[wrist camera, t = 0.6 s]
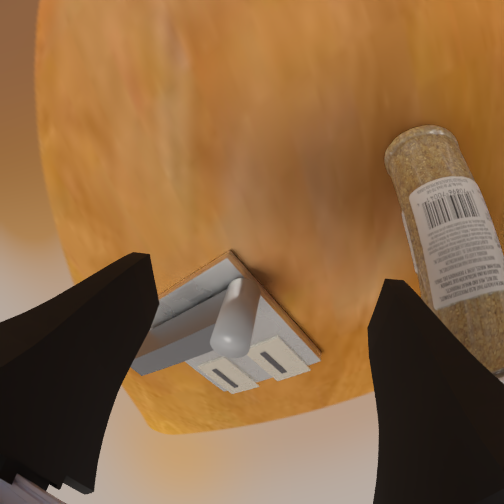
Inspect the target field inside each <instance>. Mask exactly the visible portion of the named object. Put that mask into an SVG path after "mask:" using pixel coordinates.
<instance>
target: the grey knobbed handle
mask: <svg viewBox="0 0 504 504" xmlns="http://www.w3.org/2000/svg"><path fill="white" fill-rule="evenodd" d="M260 295H261V291H260V288H259V286H258V285H257V284H256V283H255V282H254V281H252V280H250V279H246V278H238V279H235V280H233V281H232V282H231V283H230V284H229V286H228V289H227V290H225V291H223V292H221V293H219V294H217V295H215V296H214V297H212V298H210V299H208V300H206V301H204V302H202V303H201V304H199V305H197V306H195V307H193V308H191V309H189V310H187V311H186V312H184V313H182V314H180V315H178V316H176V317H174V318H172V319H171V320H169V321H167V322H165V323H163V324H161V325H159V326H157V327H155V328H153V329H152V330H150V331H149V332H148V334H147V336H146V338H145V340H144V342H143V344H142V346H141V348H140V349H139V351H138V353H137V355H136V357H135V359H134V361H133V363H132V365H131V366H130V367H131V368H132V369H134V370H135V371H136V372H138V373H139V374H140V375H141V376H143V375H146V374H149V373H152V372H155V371H158V370H161V369H164V368H167V367H170V366H172V365H175V364H178V363H181V362H184V361H186V360H189V359H192V358H195V357H197V356H200V355H203V354H205V353H208V352H211V351H213V350H214V351H215V352H217V353H218V354H220V355H222V356H224V357H228V358H241V357H243V356H245V355H247V354H248V352H249V349H250V344H251V339H252V335H253V330H254V325H255V320H256V315H257V310H258V305H259V300H260Z"/></svg>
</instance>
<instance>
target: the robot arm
mask: <svg viewBox="0 0 504 504" xmlns="http://www.w3.org/2000/svg"><path fill="white" fill-rule="evenodd" d="M159 304H160V303H159V299H158V294H157V289H156V285H155V280H154V275H153V270H152V264H151V259H150V254H144V253H136V252H133V253H131V254H128V255H126V256H124V257H122V258H121V259H119V260H117V261H115V262H113V263H112V264H110V265H108V266H107V267H105V268H103V269H102V270H100V271H98V272H97V273H95V274H93V275H92V276H90V277H88V278H87V279H85V280H83V281H82V282H80V283H78V284H76V285H75V286H73V287H71V288H70V289H68V290H66V291H64V292H63V293H61V294H59V295H57V296H56V297H54V298H52V299H50V300H48V301H47V302H45V303H43V304H41V305H39V306H37V307H35V308H33V309H31V310H28V311H27V312H25V313H22V314H20V315H17V316H15V317H13V318H10V319H8V320H5V321H3V322H0V504H66V503H64V502H62V501H61V500H59V499H57V498H55V497H54V496H53V495H51V494H49V493H48V492H46V490H47V488H48V486H49V484H50V485H52V486H53V487H55V488H57V489H58V490H59V489H61V486H62V483H64V484H66V485H68V486H70V487H72V488H73V489H75V490H77V491H79V492H81V493H83V494H89V493H92V492H94V485H95V477H96V471H97V464H98V459H99V454H100V450H101V445H102V441H103V437H104V433H105V430H106V426H107V423H108V419H109V416H110V413H111V410H112V407H113V404H114V402H115V399H116V396H117V393H118V391H119V389H120V386H121V384H122V382H123V380H124V378H125V376H126V374H127V372H128V370H129V368H130V366H131V365H132V363H133V361H134V359H135V357H136V355H137V353H138V351H139V349H140V348H141V346H142V344H143V342H144V340H145V338H146V336H147V334H148V332H149V330H150V328H151V325H152V323H153V320H154V318H155V315H156V312H157V309H158V307H159ZM368 346H369V359H370V365H371V372H372V378H373V385H374V391H375V398H376V405H377V413H378V423H379V452H378V468H377V480H376V487H375V494H374V501H373V504H504V384H503V383H502V382H501V381H500V380H499V379H498V378H497V377H495V376H494V375H493V374H492V373H491V372H490V371H489V370H488V369H487V368H486V367H485V366H484V365H483V364H482V363H481V362H479V361H478V360H477V359H476V358H475V357H474V356H473V355H472V354H471V353H470V352H469V351H468V349H467V348H466V347H465V346H464V345H463V344H462V343H461V342H460V341H459V340H458V339H457V338H456V337H455V336H454V335H453V334H452V332H451V331H450V330H449V329H448V328H447V327H446V326H445V325H444V324H443V322H442V321H441V320H440V319H439V318H438V317H437V316H436V315H435V314H434V312H433V311H432V310H431V309H430V308H429V307H428V306H427V305H426V303H425V302H424V301H423V300H422V299H421V298H420V297H419V296H418V295H417V294H416V292H415V291H414V290H413V289H412V288H411V287H410V286H409V285H408V284H407V283H406V282H405V281H403V280H394V279H385V281H384V284H383V287H382V290H381V293H380V296H379V298H378V301H377V304H376V307H375V310H374V312H373V315H372V318H371V320H370V323H369V325H368Z"/></svg>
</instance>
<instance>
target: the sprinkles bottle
mask: <svg viewBox="0 0 504 504" xmlns="http://www.w3.org/2000/svg"><path fill="white" fill-rule="evenodd" d="M384 162H385V167H386V170H387V173H388V174H389V175H390V177H391V178H392V182H393V185H394V188H395V191H396V195H397V197H398V201H399V204H400V207H401V211H402V219H403V223H404V227H405V231H406V235H407V239H408V243H409V247H410V251H411V255H412V259H413V264H414V268H415V272H416V273H417V275H418V279H419V286H420V291H421V298H422V300H423V301H424V302H425V303H426V305H427V306H428V307H429V308H430V309H431V310H432V311H433V312H434V314H435V315H436V316H437V317H438V318H439V319H440V320H441V321H442V322H443V324H444V325H445V326H446V327H447V328H448V329H449V330H450V331H451V332H452V334H453V335H454V336H455V337H456V338H457V339H458V340H459V341H460V342H461V343H462V344H463V345H464V346H465V347H466V348H467V349H468V351H469V352H470V353H471V354H472V355H473V356H474V357H475V358H476V359H477V360H478V361H479V362H481V363H482V364H483V365H484V366H485V367H486V368H487V369H488V370H489V371H490V372H491V373H492V374H493V375H494V376H495V377H497V378H498V379H499V380H500V381H501V382H502V383H503V384H504V256H503V253H502V249H501V246H500V243H499V240H498V237H497V234H496V231H495V228H494V225H493V222H492V219H491V217H490V214H489V211H488V209H487V206H486V203H485V201H484V198H483V196H482V194H481V191H480V189H479V187H478V185H477V184H476V182H475V180H474V178H473V176H472V174H471V172H470V170H469V168H468V166H467V163H466V161H465V159H464V157H463V155H462V154H461V152H460V150H459V145H458V142H457V140H456V138H455V136H454V135H453V134H452V133H451V132H450V131H448V130H447V129H445V128H443V127H440V126H436V125H423V126H419V127H415V128H412V129H410V130H408V131H406V132H404V133H402V134H400V135H399V136H398V137H396V138H395V139H394V140H393V142H392V143H391V144H390V145H389V147H388V148H387V150H386V152H385V158H384Z"/></svg>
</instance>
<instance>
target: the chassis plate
mask: <svg viewBox="0 0 504 504" xmlns="http://www.w3.org/2000/svg"><path fill="white" fill-rule="evenodd" d="M238 278H246V279H250V280H252V281H254V282H255V283H256V284H257V285H258V286H259V288H260V291H261V295H260V300H259V305H258V310H257V315H256V320H255V325H254V330H253V335H252V339H251V344H250V349H249V352H248V354H247V355H245V356H243V357H241V358H228V357H224V356H222V355H220V354H218V353H217V352H215V351H214V350H213V351H211V352H208V353H205V354H203V355H200V356H197V357H195V358H192V359H189V360H186V361H185V362H186V363H188V364H189V365H190V366H191V367H193V368H194V369H195V370H196V371H198V372H199V373H200V374H201V375H203V376H204V377H205V378H207V379H208V380H209V381H211V382H212V383H213V384H215V385H216V386H217V387H219V388H220V389H221V390H223V391H229V392H230V393H232V394H234V393H238V392H241V391H245V390H249V389H252V388H256V387H260V384H259V383H257V382H259V381H263V380H266V379H269V378H272V377H273V378H274V379H275V380H277V381H280V380H283V379H286V378H289V377H292V376H295V375H298V374H301V373H304V372H307V371H310V370H311V368H310V367H309V366H308V365H311V364H314V363H316V362H319V361H321V351H320V350H319V349H318V348H317V347H316V346H315V344H314V343H313V342H312V341H311V340H310V339H309V338H308V337H307V336H306V335H305V333H304V332H303V331H302V330H301V329H300V328H299V327H298V326H297V325H296V323H295V322H294V321H293V320H292V319H291V318H290V317H289V316H288V315H287V313H286V312H285V311H284V310H283V309H282V308H281V307H280V306H279V304H278V303H277V302H276V301H275V300H274V299H273V298H272V297H271V296H270V294H269V293H268V292H267V291H266V290H265V289H264V288H263V287H262V285H261V284H260V283H259V282H258V281H257V280H256V279H255V277H254V276H253V275H252V274H251V273H250V272H249V271H248V270H247V268H246V267H245V266H244V265H243V264H242V263H241V262H240V260H239V259H238V258H237V257H236V256H235V255H234V254H233V253H232V251H231V250H229V251H228V252H226V253H224V254H223V255H221V256H220V257H218V258H216V259H215V260H213V261H212V262H210V263H208V264H207V265H205V266H204V267H202V268H201V269H199V270H197V271H196V272H194V273H193V274H191V275H189V276H188V277H186V278H185V279H183V280H182V281H180V282H178V283H177V284H175V285H174V286H172V287H171V288H169V289H167V290H166V291H164V292H163V293H161V294H160V295H158V299H159V303H160V304H159V307H158V309H157V312H156V315H155V318H154V320H153V323H152V325H151V328H150V330H152V329H153V328H155V327H157V326H159V325H161V324H163V323H165V322H167V321H169V320H171V319H172V318H174V317H176V316H178V315H180V314H182V313H184V312H186V311H187V310H189V309H191V308H193V307H195V306H197V305H199V304H201V303H202V302H204V301H206V300H208V299H210V298H212V297H214V296H215V295H217V294H219V293H221V292H223V291H225V290H227V289H228V286H229V284H230V283H231V282H232V281H233V280H235V279H238ZM150 330H149V331H150Z"/></svg>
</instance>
